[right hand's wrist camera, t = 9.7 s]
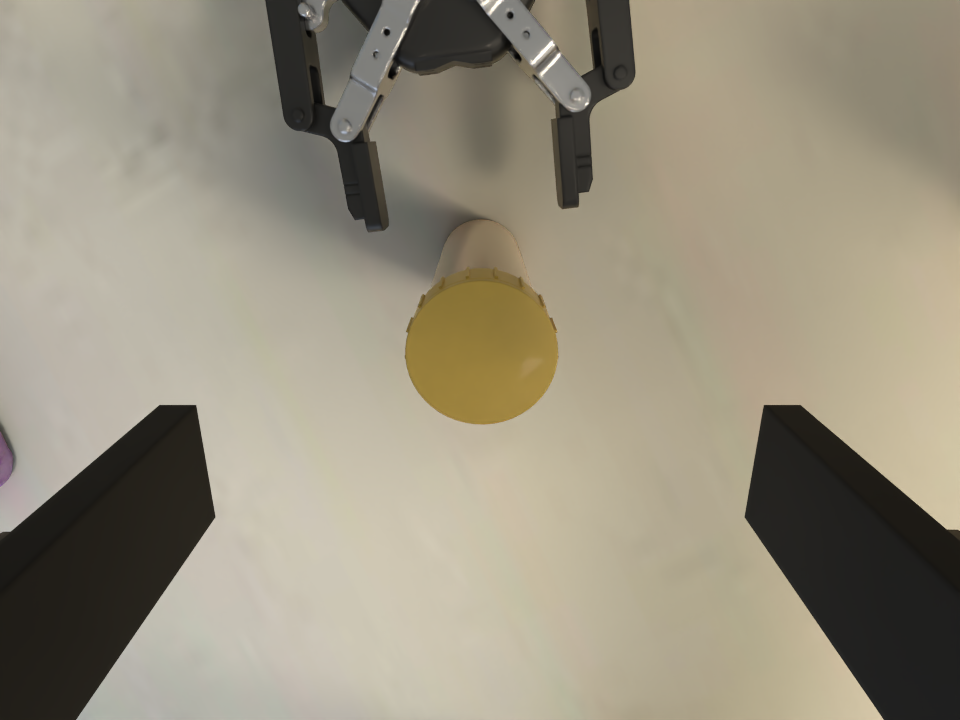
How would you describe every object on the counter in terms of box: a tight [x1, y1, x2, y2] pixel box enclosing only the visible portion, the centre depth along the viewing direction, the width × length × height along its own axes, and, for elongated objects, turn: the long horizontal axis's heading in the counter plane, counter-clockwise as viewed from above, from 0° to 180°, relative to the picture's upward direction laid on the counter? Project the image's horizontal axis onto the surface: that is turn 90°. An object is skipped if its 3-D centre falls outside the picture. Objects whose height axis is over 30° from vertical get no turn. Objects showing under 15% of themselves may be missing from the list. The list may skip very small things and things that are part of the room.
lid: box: [405, 267, 558, 424], centre depth 20 cm, size 5×5×2 cm
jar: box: [430, 219, 532, 289], centre depth 27 cm, size 4×4×16 cm
